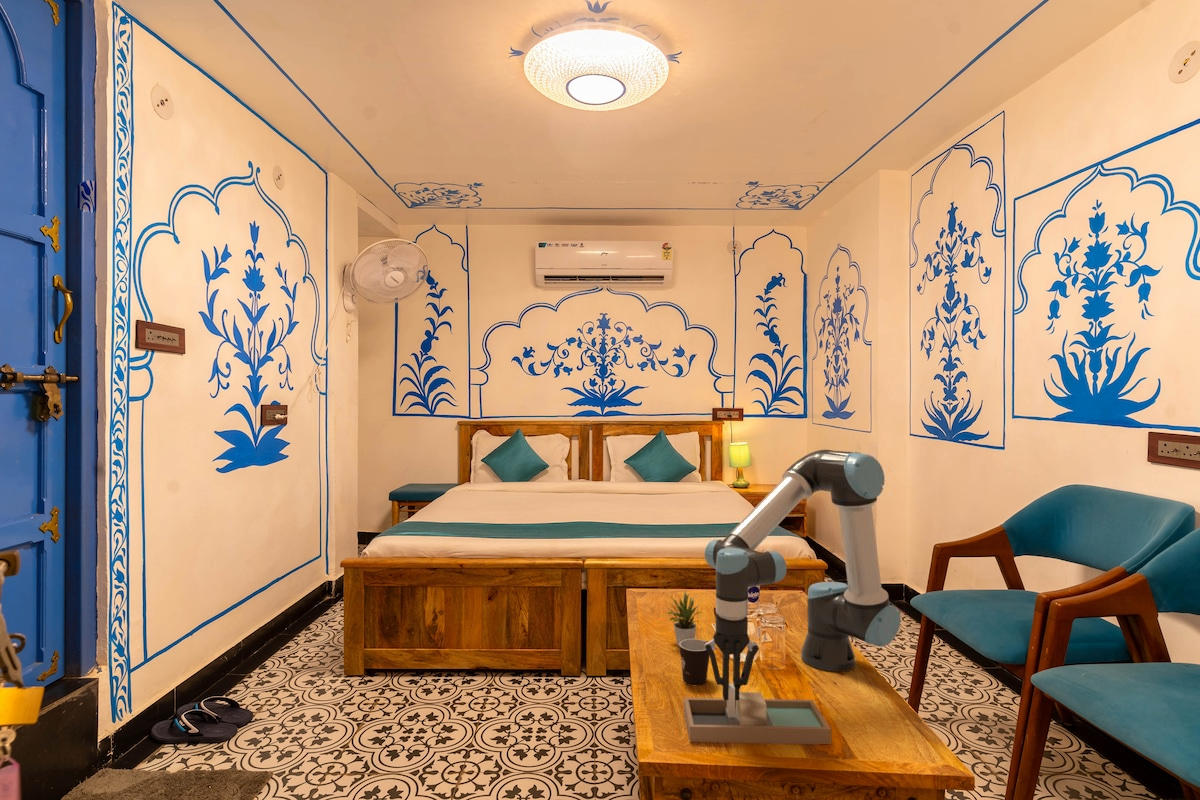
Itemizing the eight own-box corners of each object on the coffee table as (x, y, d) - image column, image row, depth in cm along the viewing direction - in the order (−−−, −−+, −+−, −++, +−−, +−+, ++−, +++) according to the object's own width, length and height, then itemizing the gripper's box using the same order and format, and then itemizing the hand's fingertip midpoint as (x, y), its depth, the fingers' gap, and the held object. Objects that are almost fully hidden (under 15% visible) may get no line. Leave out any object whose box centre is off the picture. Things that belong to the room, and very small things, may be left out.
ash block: (760, 713, 157) (761, 692, 156) (766, 725, 151) (766, 704, 150) (736, 712, 157) (736, 692, 157) (740, 725, 151) (740, 704, 151)
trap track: (812, 713, 160) (812, 699, 160) (830, 744, 146) (831, 729, 146) (683, 711, 161) (683, 697, 161) (689, 741, 147) (689, 726, 147)
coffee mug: (709, 689, 174) (710, 652, 173) (677, 686, 175) (678, 649, 175) (711, 670, 185) (711, 636, 185) (681, 668, 187) (681, 633, 186)
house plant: (659, 634, 212) (659, 585, 212) (701, 635, 212) (702, 585, 212) (662, 651, 198) (662, 599, 198) (707, 652, 198) (707, 599, 198)
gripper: (755, 610, 157) (754, 705, 157) (702, 609, 158) (701, 704, 158) (762, 620, 150) (761, 721, 150) (706, 619, 150) (705, 720, 150)
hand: (730, 712), depth 154 cm, fingers closed
